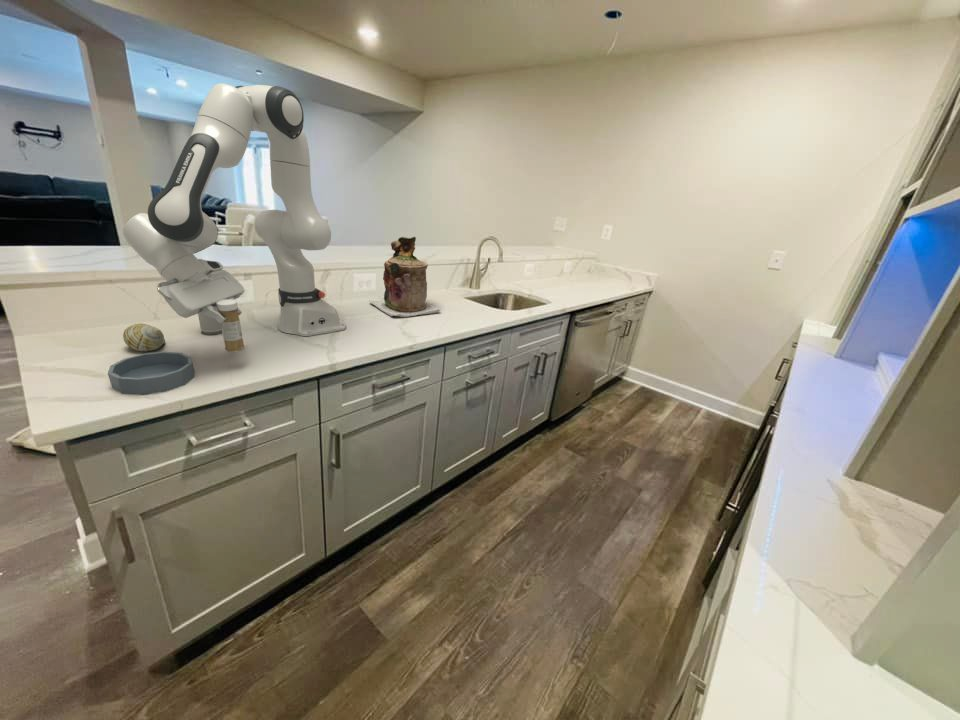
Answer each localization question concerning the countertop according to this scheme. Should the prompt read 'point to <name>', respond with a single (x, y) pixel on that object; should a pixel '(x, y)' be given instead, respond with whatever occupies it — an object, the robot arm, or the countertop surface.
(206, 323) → the travel mug
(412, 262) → the cookie jar
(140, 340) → the seashell
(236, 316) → the sprinkles bottle
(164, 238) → the robot arm
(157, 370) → the slate bowl
